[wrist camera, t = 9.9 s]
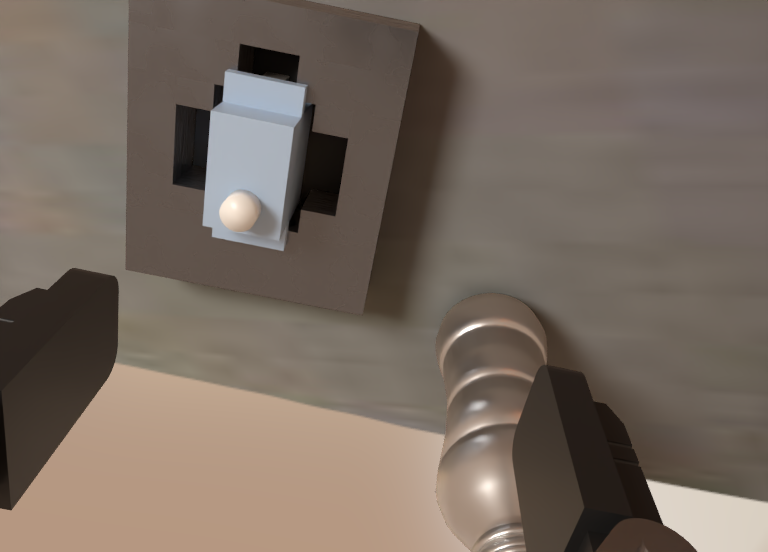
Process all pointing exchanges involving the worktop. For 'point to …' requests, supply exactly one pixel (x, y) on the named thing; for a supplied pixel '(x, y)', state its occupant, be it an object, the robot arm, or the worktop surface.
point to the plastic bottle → (485, 416)
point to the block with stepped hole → (332, 116)
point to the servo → (256, 158)
